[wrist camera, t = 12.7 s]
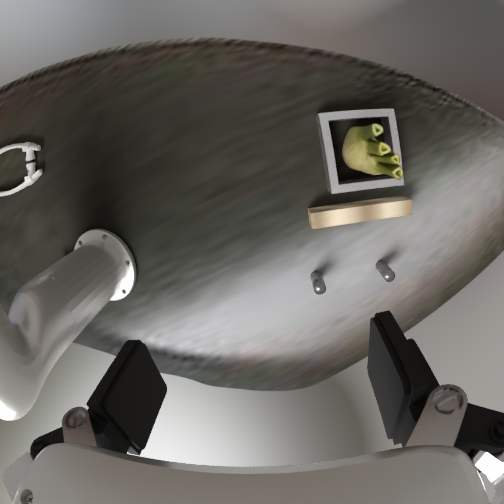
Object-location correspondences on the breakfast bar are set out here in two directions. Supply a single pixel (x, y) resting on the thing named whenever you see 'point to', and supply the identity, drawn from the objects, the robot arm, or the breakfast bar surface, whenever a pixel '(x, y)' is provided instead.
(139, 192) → the breakfast bar surface
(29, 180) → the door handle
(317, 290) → the pegs
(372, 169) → the fennel bulb
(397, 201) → the door edge rail
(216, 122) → the breakfast bar surface
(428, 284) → the breakfast bar surface
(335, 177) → the frame
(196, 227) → the breakfast bar surface
